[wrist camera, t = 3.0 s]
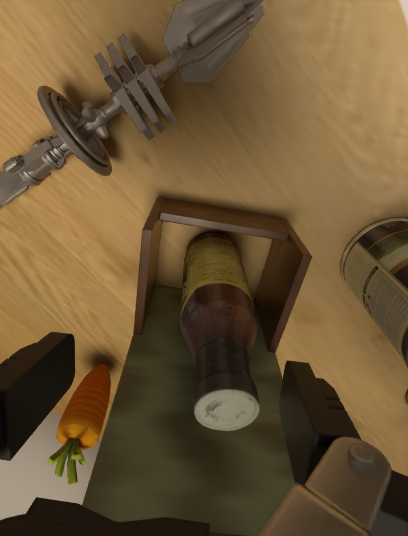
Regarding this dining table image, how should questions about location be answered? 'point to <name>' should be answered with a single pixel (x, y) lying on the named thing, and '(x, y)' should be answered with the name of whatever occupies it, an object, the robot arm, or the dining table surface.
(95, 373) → the carrot
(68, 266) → the dining table surface
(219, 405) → the sauce bottle
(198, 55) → the spaceship
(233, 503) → the bottle rack
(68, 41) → the dining table surface
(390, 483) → the robot arm
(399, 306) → the coffee can
